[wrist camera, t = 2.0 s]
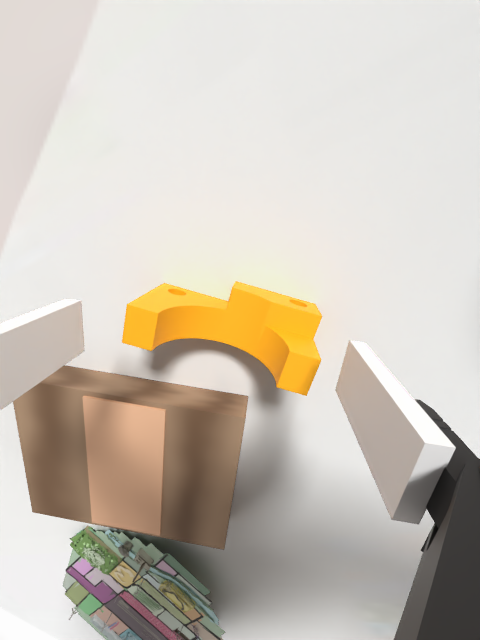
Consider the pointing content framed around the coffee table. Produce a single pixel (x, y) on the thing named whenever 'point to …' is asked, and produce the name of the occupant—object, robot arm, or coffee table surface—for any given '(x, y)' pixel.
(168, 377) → the coffee table surface
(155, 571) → the city model
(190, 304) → the pipe clamp
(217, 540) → the board
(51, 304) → the robot arm
